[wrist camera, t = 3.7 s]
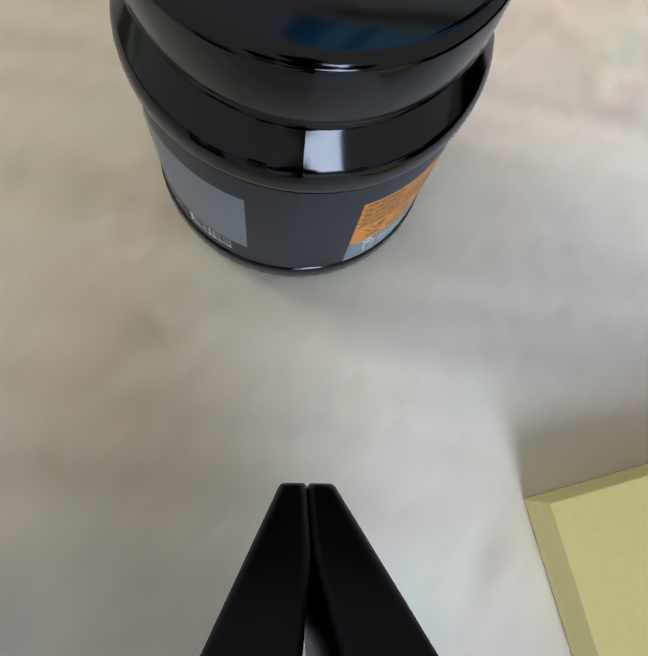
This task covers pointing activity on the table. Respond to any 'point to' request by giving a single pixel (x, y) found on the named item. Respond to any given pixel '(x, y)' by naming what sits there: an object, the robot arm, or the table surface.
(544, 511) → the sticky notes
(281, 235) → the supplement container
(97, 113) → the table surface
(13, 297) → the table surface
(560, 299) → the table surface
